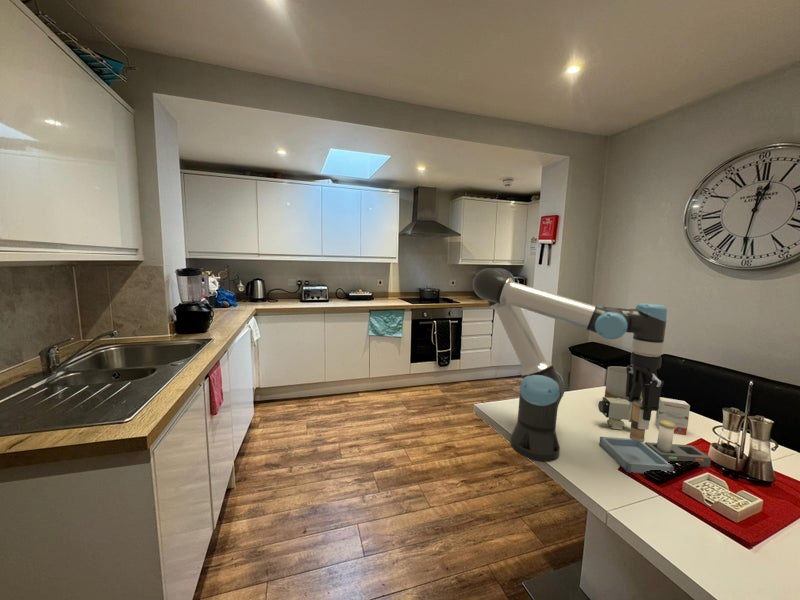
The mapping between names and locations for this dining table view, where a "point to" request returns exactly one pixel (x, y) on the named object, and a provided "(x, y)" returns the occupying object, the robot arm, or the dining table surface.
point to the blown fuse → (636, 423)
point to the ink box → (673, 414)
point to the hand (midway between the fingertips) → (638, 425)
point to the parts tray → (634, 455)
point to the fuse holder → (682, 454)
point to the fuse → (665, 436)
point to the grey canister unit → (617, 383)
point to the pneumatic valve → (615, 411)
